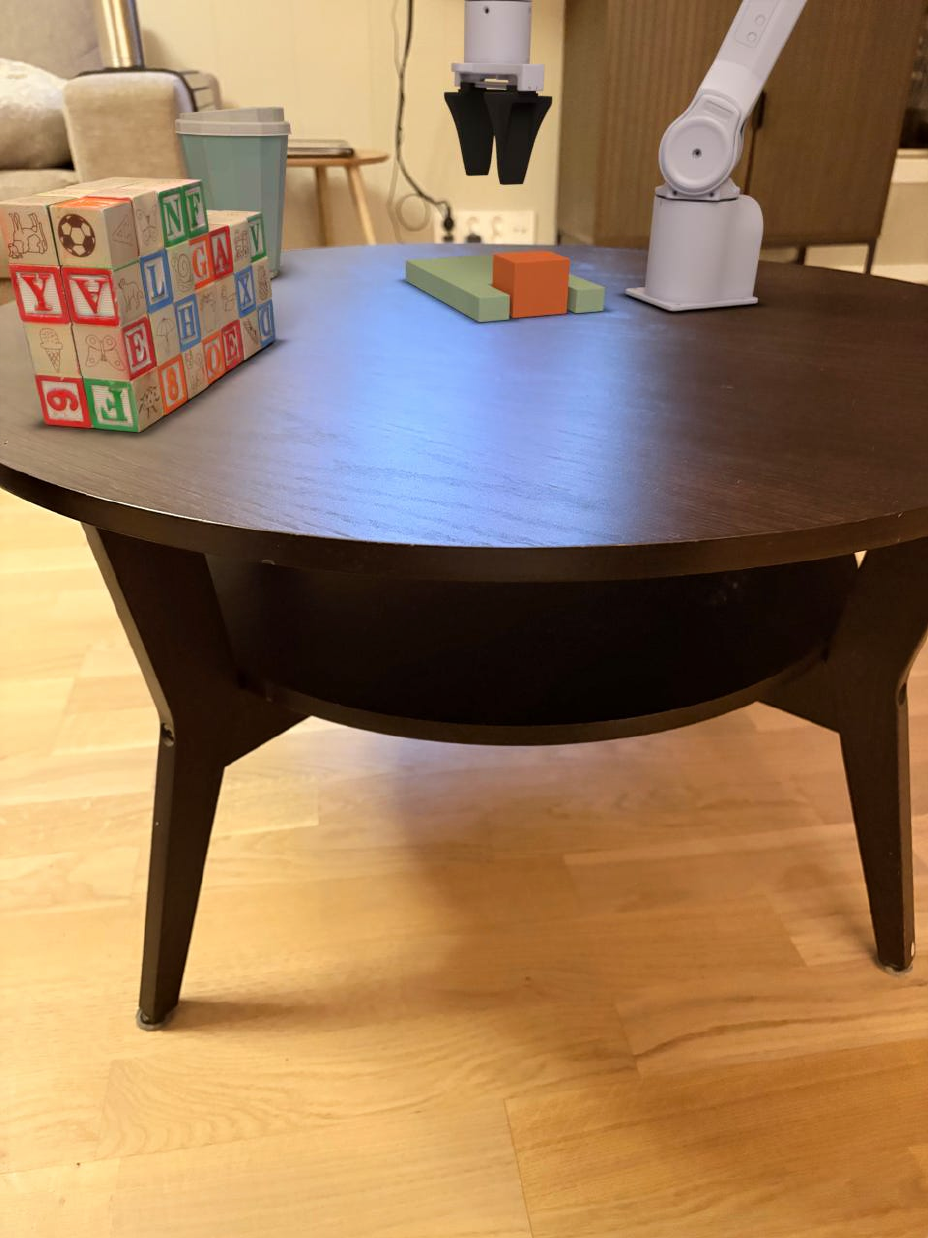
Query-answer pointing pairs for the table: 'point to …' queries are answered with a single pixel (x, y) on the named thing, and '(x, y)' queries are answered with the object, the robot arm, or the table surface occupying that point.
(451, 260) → the base pad
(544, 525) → the table surface
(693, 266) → the robot arm
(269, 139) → the disposable coffee cup
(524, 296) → the orange cube
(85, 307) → the stack of blocks
